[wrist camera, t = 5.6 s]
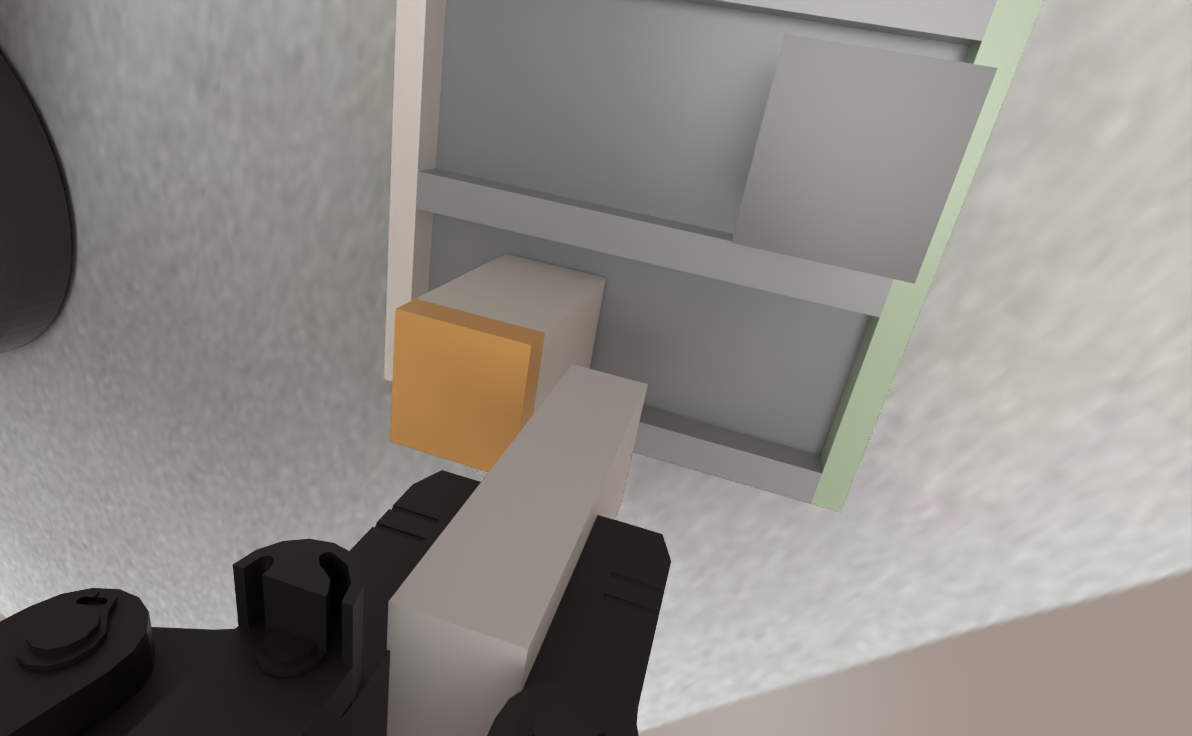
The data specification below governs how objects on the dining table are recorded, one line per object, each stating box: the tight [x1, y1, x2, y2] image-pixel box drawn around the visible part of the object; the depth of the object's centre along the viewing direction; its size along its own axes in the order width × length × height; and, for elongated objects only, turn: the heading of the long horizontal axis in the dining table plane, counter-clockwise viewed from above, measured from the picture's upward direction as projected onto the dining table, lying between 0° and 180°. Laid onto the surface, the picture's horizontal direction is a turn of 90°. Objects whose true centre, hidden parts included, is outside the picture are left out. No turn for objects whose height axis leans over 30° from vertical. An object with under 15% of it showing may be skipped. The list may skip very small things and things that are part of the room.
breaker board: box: [384, 0, 1043, 513], centre depth 16 cm, size 14×18×2 cm
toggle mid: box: [731, 34, 998, 284], centre depth 13 cm, size 3×3×6 cm
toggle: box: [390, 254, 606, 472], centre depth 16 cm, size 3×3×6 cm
